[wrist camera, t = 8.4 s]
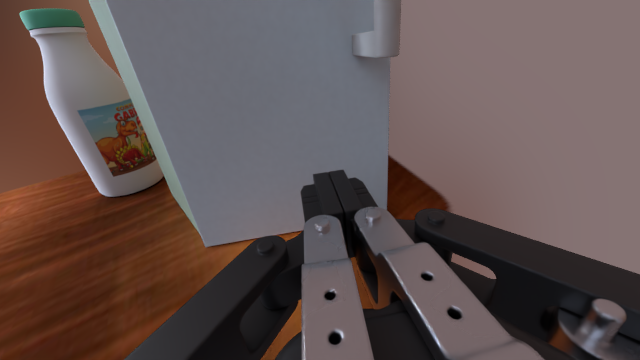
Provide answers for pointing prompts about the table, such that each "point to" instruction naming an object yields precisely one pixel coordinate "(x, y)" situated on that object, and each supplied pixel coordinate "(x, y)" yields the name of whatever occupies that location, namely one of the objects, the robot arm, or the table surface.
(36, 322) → the table surface
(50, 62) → the milk bottle
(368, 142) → the cabinet door
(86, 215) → the table surface
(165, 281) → the table surface
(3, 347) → the table surface
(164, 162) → the cabinet
